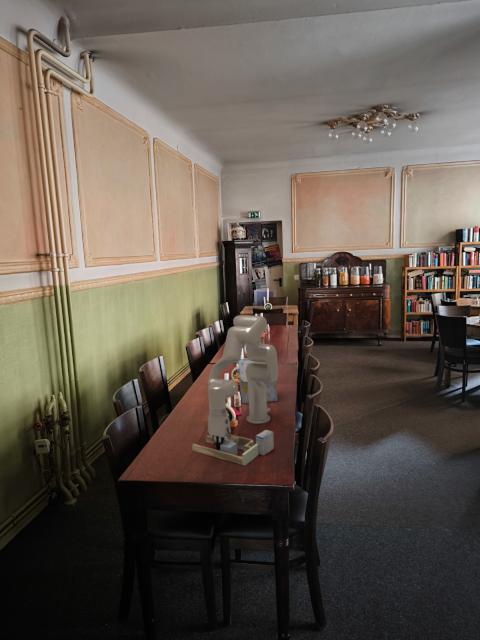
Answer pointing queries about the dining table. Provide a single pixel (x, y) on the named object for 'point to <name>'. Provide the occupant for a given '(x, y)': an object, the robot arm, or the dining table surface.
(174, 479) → the dining table surface
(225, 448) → the slate block
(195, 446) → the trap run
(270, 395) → the lunch bag
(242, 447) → the pads
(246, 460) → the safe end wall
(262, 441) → the medicine box
